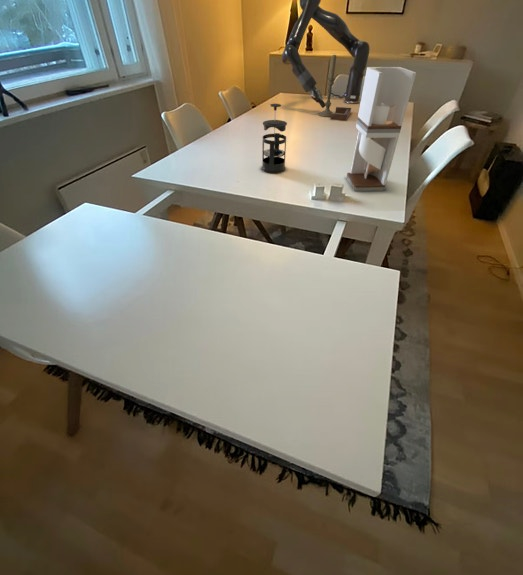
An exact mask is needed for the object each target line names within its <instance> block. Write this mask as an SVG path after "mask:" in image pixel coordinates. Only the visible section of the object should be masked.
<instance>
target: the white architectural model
mask: <svg viewBox="0 0 523 575" xmlns="http://www.w3.org/2000/svg"><path fill="white" fill-rule="evenodd" d="M416 76H417V72H415V71H413V70H410V69H407V68H405V67H403V66H366V69H365V76H364V81H363V86H362V92H361V97H360V103H359V108H358V114H357V119H356V124H355V128H356V129H357V130H358V131H357V138H356V142H355V146H354V152H353V156H352V163H351V168H350V172H346V180H347V181H348V183H349V184H350V186H351V188H352V189H353V191H354V192H375V191H376V192H377V191H379V192H381V191H382V192H383V191H385V189H386V185H387V181H388V177H389V174H390V170H391V167H392V163H393V159H394V155H395V152H396V148H397V144H398V142H399V138H400V134H401V131H402V130H401V129H402V126H403V123H404V119H405V115H406V113H407V108H408V104H409V101H410V98H411V93H412V90H413V86H414V83H415V79H416Z"/></svg>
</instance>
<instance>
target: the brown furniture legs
mask: <svg viewBox="0 0 523 575" xmlns="http://www.w3.org/2000/svg"><path fill="white" fill-rule="evenodd" d="M334 111H335V112H333V113H331V117H330V120H333V121H342V122H343V121H344V122H346V121H347V120H348V118H349V117H350V116H351V112H352V107H346V106H345V107H344V106H336V107H335V110H334Z"/></svg>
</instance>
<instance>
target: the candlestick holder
mask: <svg viewBox="0 0 523 575" xmlns="http://www.w3.org/2000/svg"><path fill="white" fill-rule="evenodd" d="M336 63H337V54H332V56H331V64H330V71H329V72H330V73H329V78H327V81H328V82H327V85H328V89H327V100H326V101H325V102H324V103H325V105H326V106H325V109H324V110H322V111H321V112H319V114H318V115H319V116H320V117H323V118H331V113H334V112H333V111H332V110H331V109H330V107H331V106H332V101H331V96H332V94H331V93H333V87H332V86H334V84H335V80H336V78H335V69H336Z"/></svg>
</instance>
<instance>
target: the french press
mask: <svg viewBox="0 0 523 575" xmlns="http://www.w3.org/2000/svg"><path fill="white" fill-rule="evenodd" d="M269 107H271V108H272V107H273V111H274V119H268V120H265V121H263V122H262V125H263V130H264V131H268V130H269V129H270V128H273V133H267V134H264V135H263V136H262V156H261V158H262V162H261V163H262V166H261V170H262V171H263V172H265V173H267V174H280V173H282V172H285V170H286V153H287V152H286V150H287V136H286V135H284V134H281V133H279V132H282V133H283V132H285V131H286V127H287V125H288V122H287V121H285V120H281V119H276V117H277V116H276V115H277V114H276V113H277V108H280V107H282V104H280V103H270V104H269ZM276 130H278V131H279V132H276ZM271 138H273V140H270V139H271ZM265 144H267V145H269V148H267V149H265ZM283 144H284V150H283V149H280V145H283Z"/></svg>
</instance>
